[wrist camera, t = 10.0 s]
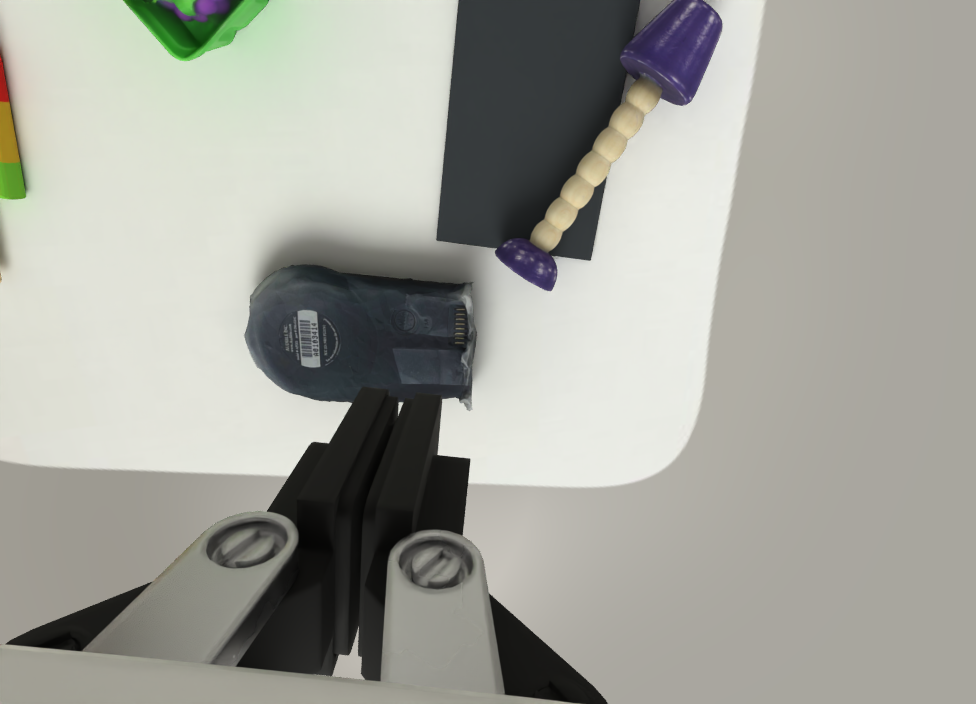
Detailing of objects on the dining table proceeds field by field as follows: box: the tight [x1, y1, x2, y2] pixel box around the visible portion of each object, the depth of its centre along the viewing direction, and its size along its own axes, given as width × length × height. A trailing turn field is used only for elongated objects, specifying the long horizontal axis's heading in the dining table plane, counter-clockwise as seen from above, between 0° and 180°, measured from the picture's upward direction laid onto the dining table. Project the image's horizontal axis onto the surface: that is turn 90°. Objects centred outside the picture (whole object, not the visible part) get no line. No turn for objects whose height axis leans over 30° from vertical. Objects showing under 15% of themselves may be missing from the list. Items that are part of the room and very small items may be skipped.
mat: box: [436, 0, 640, 260], centre depth 32 cm, size 20×10×1 cm, turn 173°
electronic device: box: [244, 265, 477, 411], centre depth 36 cm, size 9×6×15 cm
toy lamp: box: [495, 0, 722, 291], centre depth 31 cm, size 5×5×17 cm
